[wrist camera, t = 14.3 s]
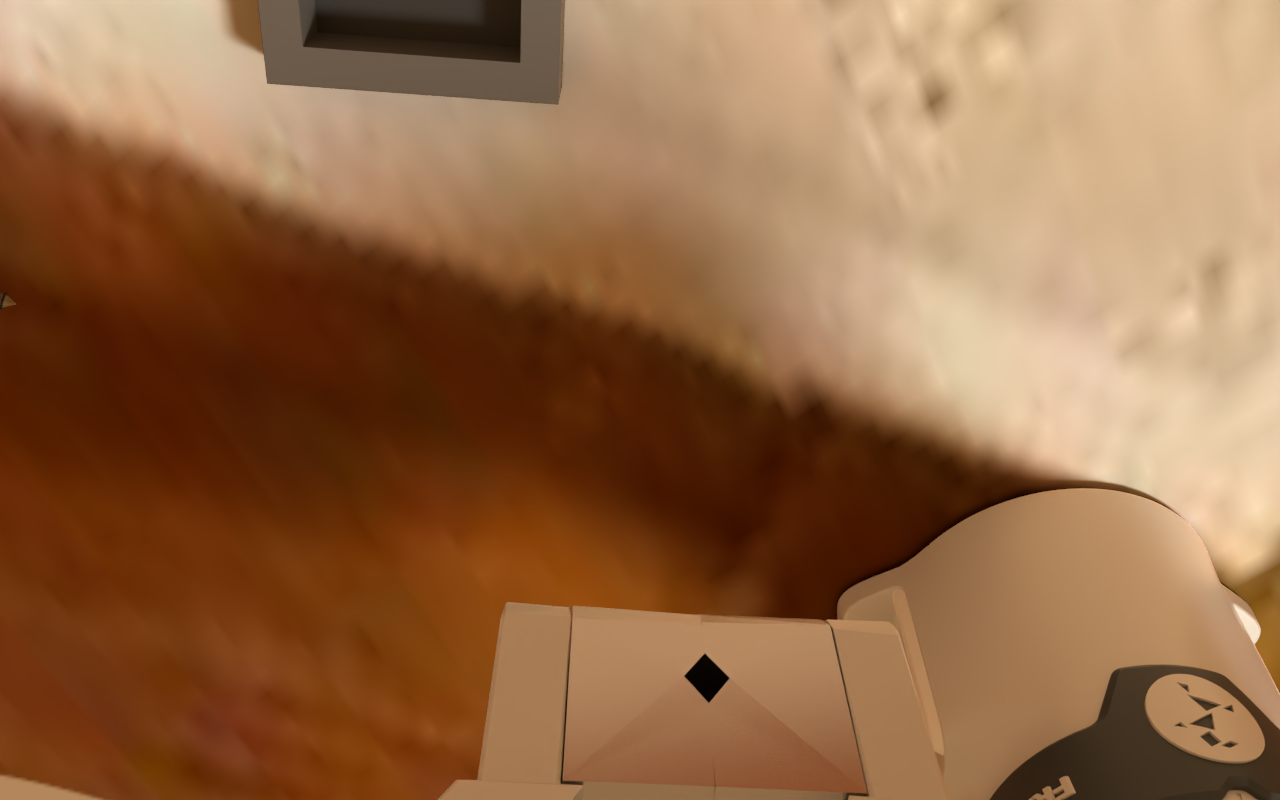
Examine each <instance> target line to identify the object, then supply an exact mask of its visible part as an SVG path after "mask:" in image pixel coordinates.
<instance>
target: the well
mask: <svg viewBox="0 0 1280 800" xmlns="http://www.w3.org/2000/svg"><path fill="white" fill-rule="evenodd" d="M258 7H259V16H260V24H261V33H262V42H263V51H264V60H265V68H266V77H267V84H280V85H294V86H308V87H322V88H336V89H350V90H364V91H378V92H391V93H405V94H419V95H433V96H447V97H461V98H475V99H489V100H502V101H516V102H530V103H544V104H558V103H559V98H560V93H561V87H562V65H563V37H564V9H565V0H258Z"/></svg>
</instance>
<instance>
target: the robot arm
mask: <svg viewBox="0 0 1280 800" xmlns="http://www.w3.org/2000/svg"><path fill="white" fill-rule="evenodd" d="M570 624H571V607H560V606H548V605H536V604H525V603H513V602H506V605H505V608H504V610H503V613H502V616H501V620H500V627H499V634H498V641H497V648H496V655H495V662H494V669H493V676H492V683H491V689H490V696H489V703H488V710H487V717H486V724H485V731H484V738H483V745H482V752H481V759H480V766H479V772H478V779H477V780H456V781H455V782H454V783H453V784H452V785H451V786H450V787H449V788H448V789H447V790H446V791H445V792H444V793H443V794H442V795H441V797H440V798H439V799H438V800H1280V693H1279V691H1278V689H1277V687H1276V685H1275V683H1274V681H1273V680H1272V678H1271V676H1270V674H1269V672H1268V670H1267V668H1266V666H1265V664H1264V662H1263V660H1262V659H1261V657H1260V655H1259V653H1258V651H1257V649H1256V647H1255V645H1254V644H1255V643H1256V642H1257V640H1258V638H1259V636H1260V632H1261V629H1260V625H1259V623H1258V621H1257V619H1256V617H1255V615H1254V613H1253V612H1252V610H1251V608H1250V607H1249V605H1248V604H1247V603H1246V602H1245V601H1244V600H1242V599H1241V598H1240V597H1239V596H1237V595H1236V594H1235V593H1234V592H1232V591H1231V590H1229V589H1228V588H1227V587H1225V586H1224V585H1222V584H1221V582H1220V581H1219V579H1218V577H1217V574H1216V572H1215V569H1214V567H1213V564H1212V562H1211V559H1210V556H1209V553H1208V551H1207V549H1206V547H1205V545H1204V543H1203V541H1202V540H1201V538H1200V537H1199V535H1198V534H1197V533H1196V531H1195V530H1194V529H1193V528H1192V527H1191V526H1190V525H1189V524H1188V523H1187V522H1186V521H1185V520H1184V519H1182V518H1181V517H1180V516H1179V515H1177V514H1176V513H1174V512H1173V511H1171V510H1170V509H1168V508H1166V507H1164V506H1163V505H1161V504H1158V503H1156V502H1154V501H1152V500H1149V499H1146V498H1144V497H1140V496H1137V495H1134V494H1130V493H1125V492H1120V491H1114V490H1107V489H1093V488H1075V489H1060V490H1052V491H1045V492H1040V493H1035V494H1030V495H1026V496H1022V497H1018V498H1015V499H1012V500H1009V501H1005V502H1003V503H1000V504H997V505H995V506H992V507H990V508H987V509H985V510H983V511H980V512H978V513H976V514H974V515H972V516H970V517H969V518H967V519H965V520H963V521H962V522H960V523H958V524H956V525H955V526H953V527H952V528H950V529H949V530H947V531H946V532H944V533H943V534H942V535H940V536H939V537H938V538H936V539H935V540H934V541H933V542H932V543H930V544H929V545H928V546H927V547H925V548H924V549H923V550H922V551H921V552H919V553H918V554H917V555H916V556H915V557H913V558H912V559H910V560H909V561H908V562H906V563H905V564H903V565H901V566H900V567H898V568H895V569H892V570H889V571H887V572H884V573H882V574H879V575H877V576H874V577H871V578H869V579H867V580H865V581H862V582H860V583H858V584H856V585H854V586H852V587H851V588H849V589H848V590H847V591H845V592H844V593H843V594H842V595H841V597H840V599H839V601H838V605H837V620H830V619H826V620H825V621H822V620H820V619H796V618H772V617H748V616H724V615H700V614H698V615H690V614H677V613H663V612H650V611H637V610H623V609H610V608H596V607H583V606H573V613H572V625H571V640H570ZM569 645H570V655H569ZM568 666H569V670H568Z"/></svg>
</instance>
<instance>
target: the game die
mask: <svg viewBox="0 0 1280 800" xmlns="http://www.w3.org/2000/svg"><path fill="white" fill-rule="evenodd" d="M12 305H17V304H16V303H15V302H14V301H13V300H12V299H10V298H9V297H8V296H7V294H6V293H4V294H3V293H0V309H2V308H3V307H8V306H12Z"/></svg>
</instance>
